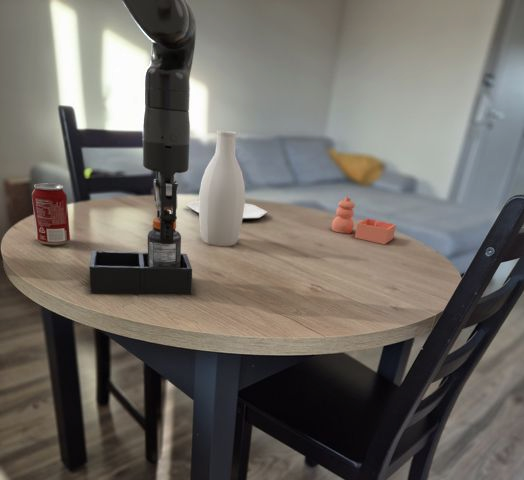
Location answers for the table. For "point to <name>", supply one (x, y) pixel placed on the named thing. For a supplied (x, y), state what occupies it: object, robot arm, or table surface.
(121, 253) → the bottle rack
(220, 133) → the bottle
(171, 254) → the pill bottle
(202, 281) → the table surface
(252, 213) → the plate
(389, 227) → the pottery
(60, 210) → the soda can
